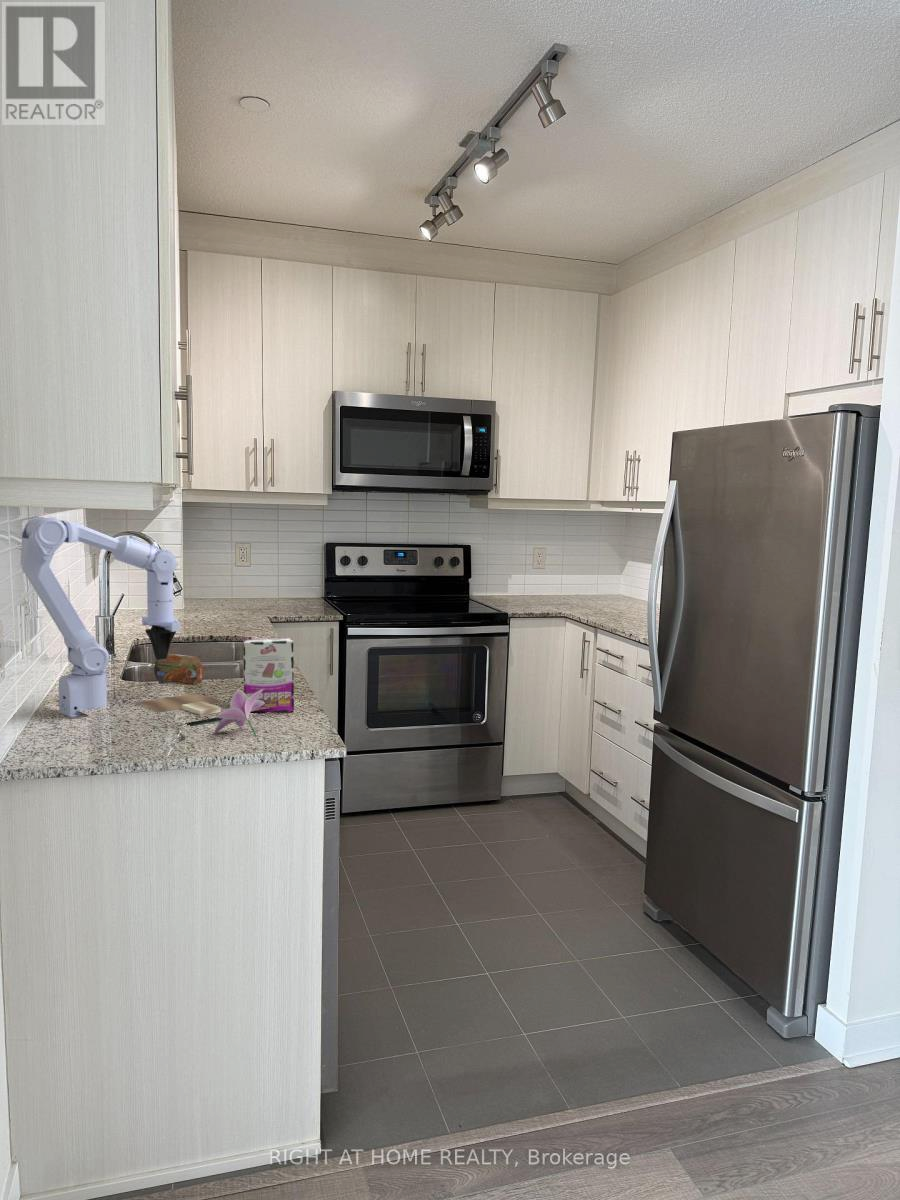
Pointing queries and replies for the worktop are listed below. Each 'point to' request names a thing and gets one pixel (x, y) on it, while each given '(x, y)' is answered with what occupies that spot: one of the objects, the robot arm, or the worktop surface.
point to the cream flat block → (201, 708)
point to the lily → (239, 709)
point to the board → (175, 702)
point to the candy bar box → (270, 673)
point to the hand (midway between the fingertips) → (161, 658)
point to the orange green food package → (179, 669)
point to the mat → (204, 721)
